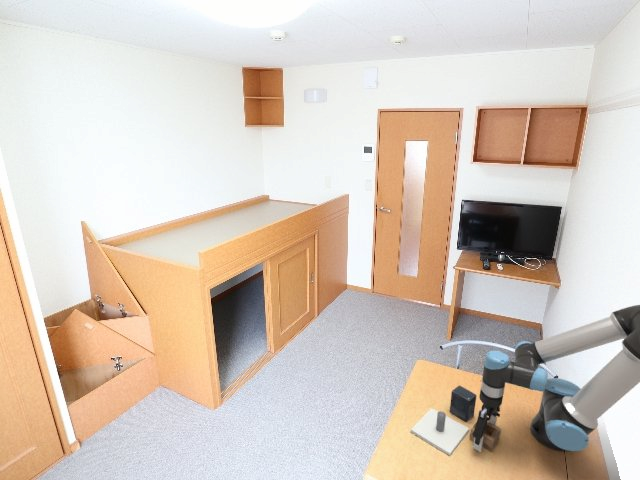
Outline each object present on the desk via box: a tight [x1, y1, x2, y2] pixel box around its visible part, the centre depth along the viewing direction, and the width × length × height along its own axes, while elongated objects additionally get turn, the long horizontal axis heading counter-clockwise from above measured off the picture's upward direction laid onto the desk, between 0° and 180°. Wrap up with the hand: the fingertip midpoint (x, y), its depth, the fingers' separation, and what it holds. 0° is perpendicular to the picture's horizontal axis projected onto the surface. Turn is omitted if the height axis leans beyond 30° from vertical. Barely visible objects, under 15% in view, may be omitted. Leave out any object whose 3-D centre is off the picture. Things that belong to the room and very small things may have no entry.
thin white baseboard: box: [410, 407, 470, 457], centre depth 148 cm, size 16×16×8 cm
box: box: [449, 385, 478, 423], centre depth 156 cm, size 8×6×11 cm
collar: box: [469, 422, 502, 453], centre depth 144 cm, size 8×8×5 cm
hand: (484, 439), depth 145 cm, fingers open, 12 cm apart
